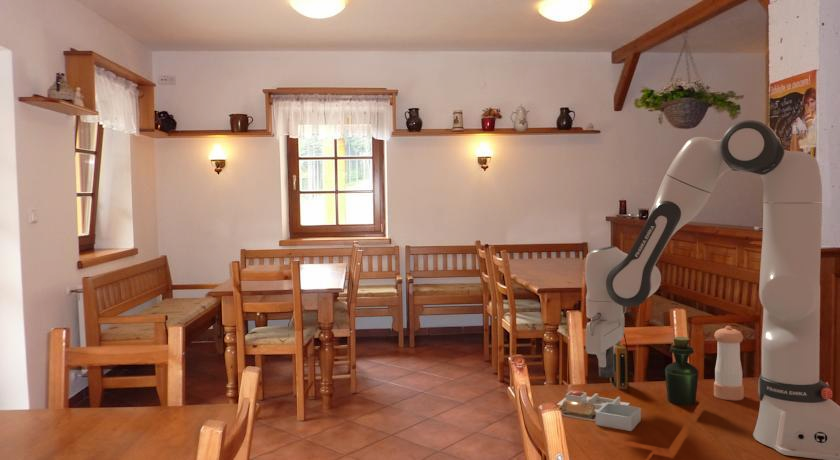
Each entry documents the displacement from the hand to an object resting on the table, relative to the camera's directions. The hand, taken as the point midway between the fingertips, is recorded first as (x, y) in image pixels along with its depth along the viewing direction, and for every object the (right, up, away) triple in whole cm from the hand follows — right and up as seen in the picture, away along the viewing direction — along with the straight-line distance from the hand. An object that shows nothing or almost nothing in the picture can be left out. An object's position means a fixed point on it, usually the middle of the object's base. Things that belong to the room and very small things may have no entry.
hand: (606, 364), depth 162 cm
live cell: (-8, -12, -4) cm, 15 cm away
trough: (-8, -13, -4) cm, 16 cm away
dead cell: (0, -3, 0) cm, 3 cm away
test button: (-6, -10, +5) cm, 13 cm away
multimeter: (+12, -11, +18) cm, 25 cm away
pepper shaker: (+36, -11, +10) cm, 39 cm away
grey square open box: (0, -13, -11) cm, 17 cm away
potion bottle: (+20, -12, +3) cm, 24 cm away
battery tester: (-3, -12, +3) cm, 13 cm away
